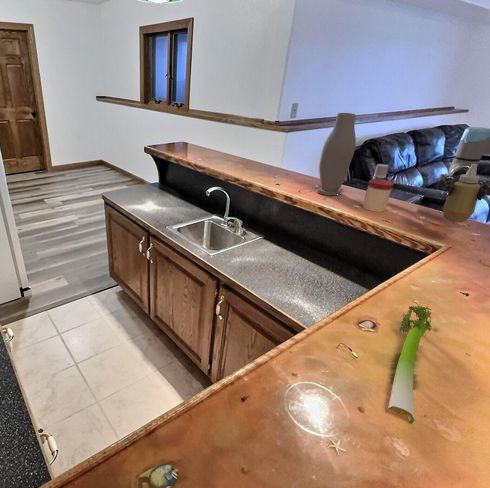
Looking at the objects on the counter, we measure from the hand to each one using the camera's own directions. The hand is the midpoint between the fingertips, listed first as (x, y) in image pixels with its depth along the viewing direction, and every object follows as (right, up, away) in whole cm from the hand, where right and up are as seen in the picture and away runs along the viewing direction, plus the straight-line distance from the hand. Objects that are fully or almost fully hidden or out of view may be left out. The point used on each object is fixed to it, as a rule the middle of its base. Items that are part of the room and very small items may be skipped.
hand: (465, 193), depth 106 cm
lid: (-5, +9, +34) cm, 36 cm away
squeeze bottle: (+3, -8, +8) cm, 11 cm away
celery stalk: (-45, -39, -39) cm, 71 cm away
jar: (-5, 0, +39) cm, 39 cm away
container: (+2, +5, +50) cm, 51 cm away
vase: (-15, +8, +57) cm, 59 cm away
